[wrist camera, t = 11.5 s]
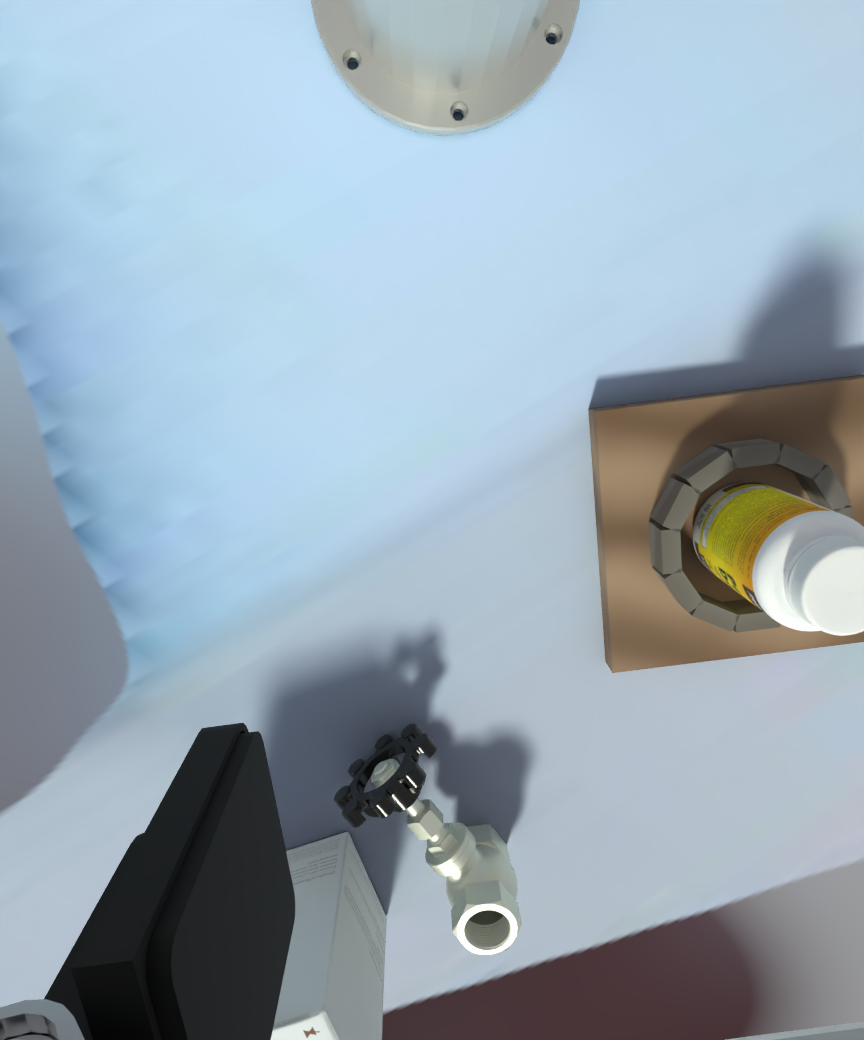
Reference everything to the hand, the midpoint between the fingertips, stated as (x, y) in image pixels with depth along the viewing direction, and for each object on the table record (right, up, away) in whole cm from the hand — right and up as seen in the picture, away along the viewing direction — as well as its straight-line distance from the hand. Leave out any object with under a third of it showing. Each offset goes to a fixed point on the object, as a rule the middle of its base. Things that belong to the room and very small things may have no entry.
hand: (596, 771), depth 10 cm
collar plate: (+15, +3, +31) cm, 34 cm away
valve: (-2, -14, +35) cm, 38 cm away
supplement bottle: (+15, +3, +29) cm, 33 cm away
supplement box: (-10, -20, +36) cm, 43 cm away
